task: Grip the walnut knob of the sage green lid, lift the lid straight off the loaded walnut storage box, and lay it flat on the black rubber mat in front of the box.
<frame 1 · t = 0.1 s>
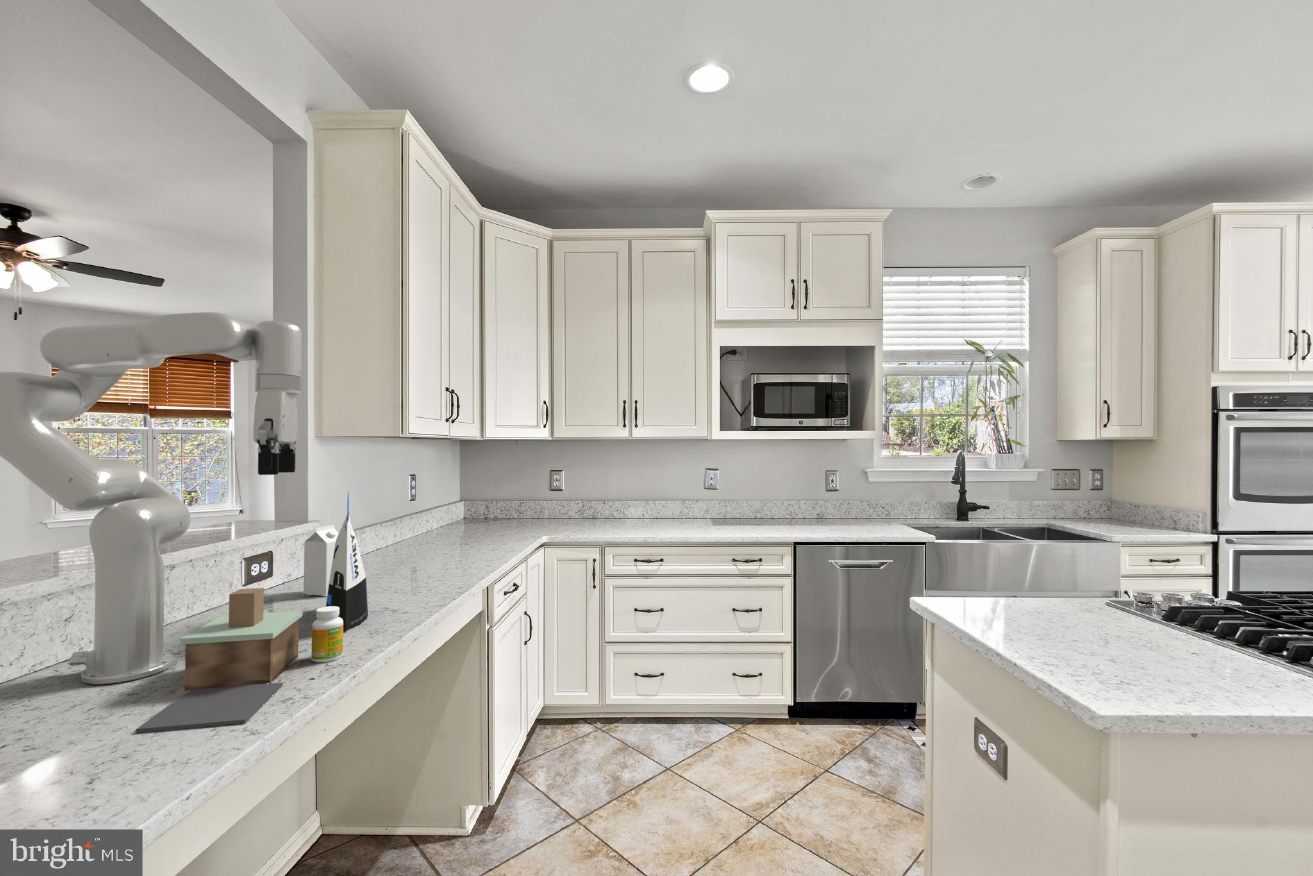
hand: (277, 473, 113), 37 cm above the worktop, tool pointing down, fingers open, 9 cm apart
storage box: (245, 672, 107), on the worktop
supplement bottle: (327, 659, 114), on the worktop
rubber mat: (216, 707, 93), on the worktop
milk carton: (323, 594, 164), on the worktop
lid: (246, 629, 107), point 8 cm above the worktop, touching storage box
protein powder: (346, 619, 141), on the worktop
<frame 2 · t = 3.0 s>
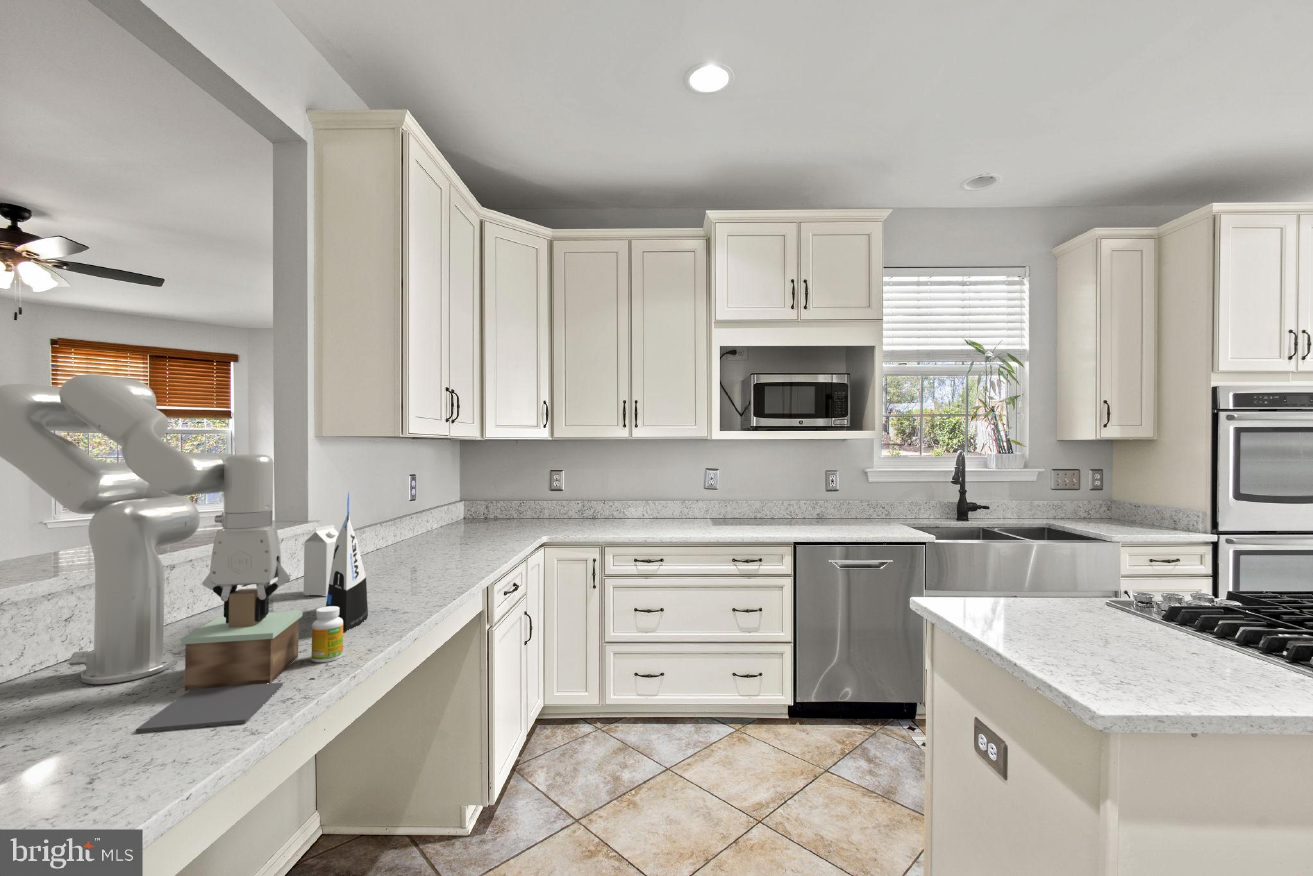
hand: (246, 619, 107), 10 cm above the worktop, tool pointing down, fingers closed on lid, 4 cm apart
lid: (246, 629, 107), point 8 cm above the worktop, touching gripper, storage box
everything else where it was.
when the fingers open (4 cm above the worktop, at t = 8.4 s): lid drops 2 cm, resting on rubber mat.
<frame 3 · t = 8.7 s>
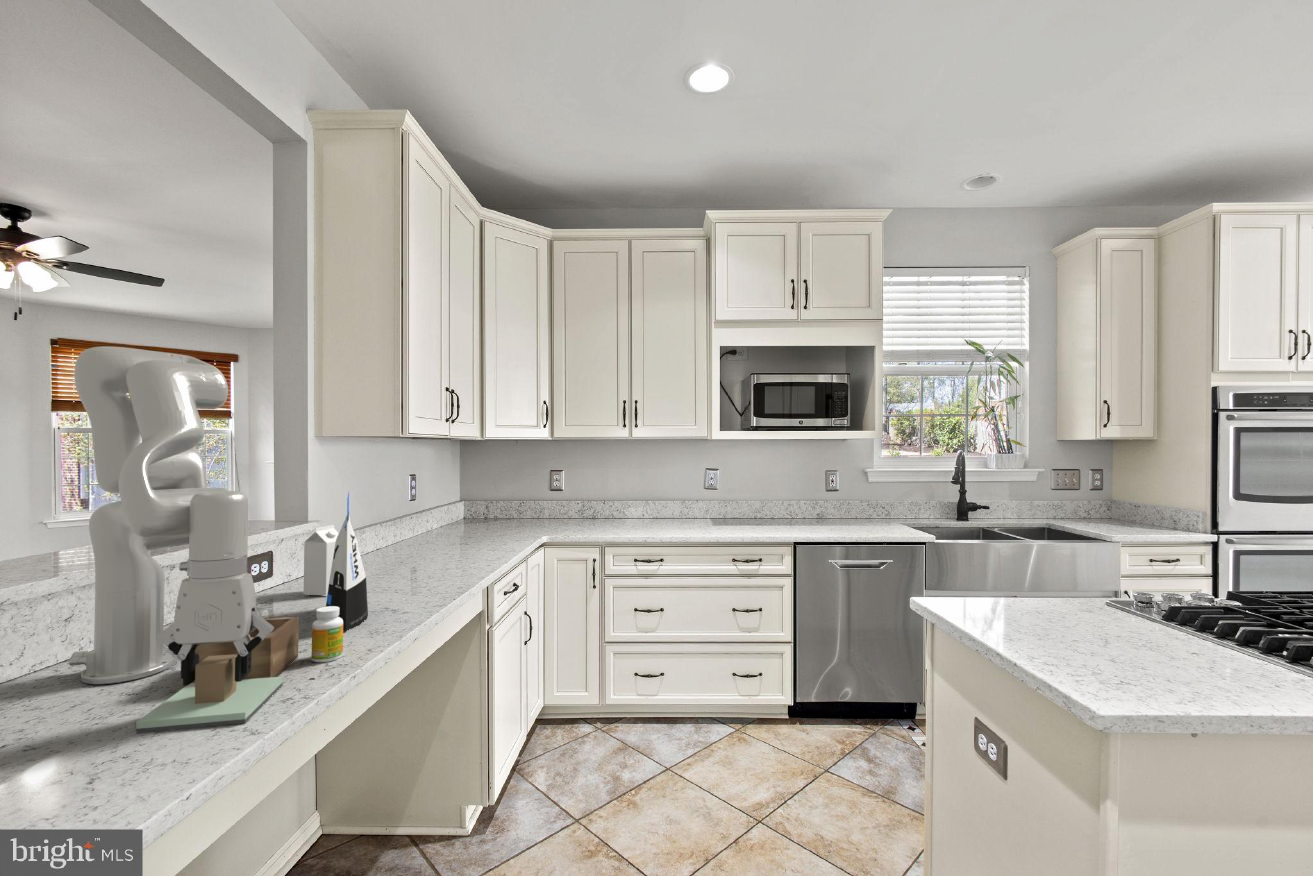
hand: (216, 679, 93), 4 cm above the worktop, tool pointing down, fingers open, 6 cm apart
lid: (215, 703, 93), point 1 cm above the worktop, touching rubber mat
everything else where it was.
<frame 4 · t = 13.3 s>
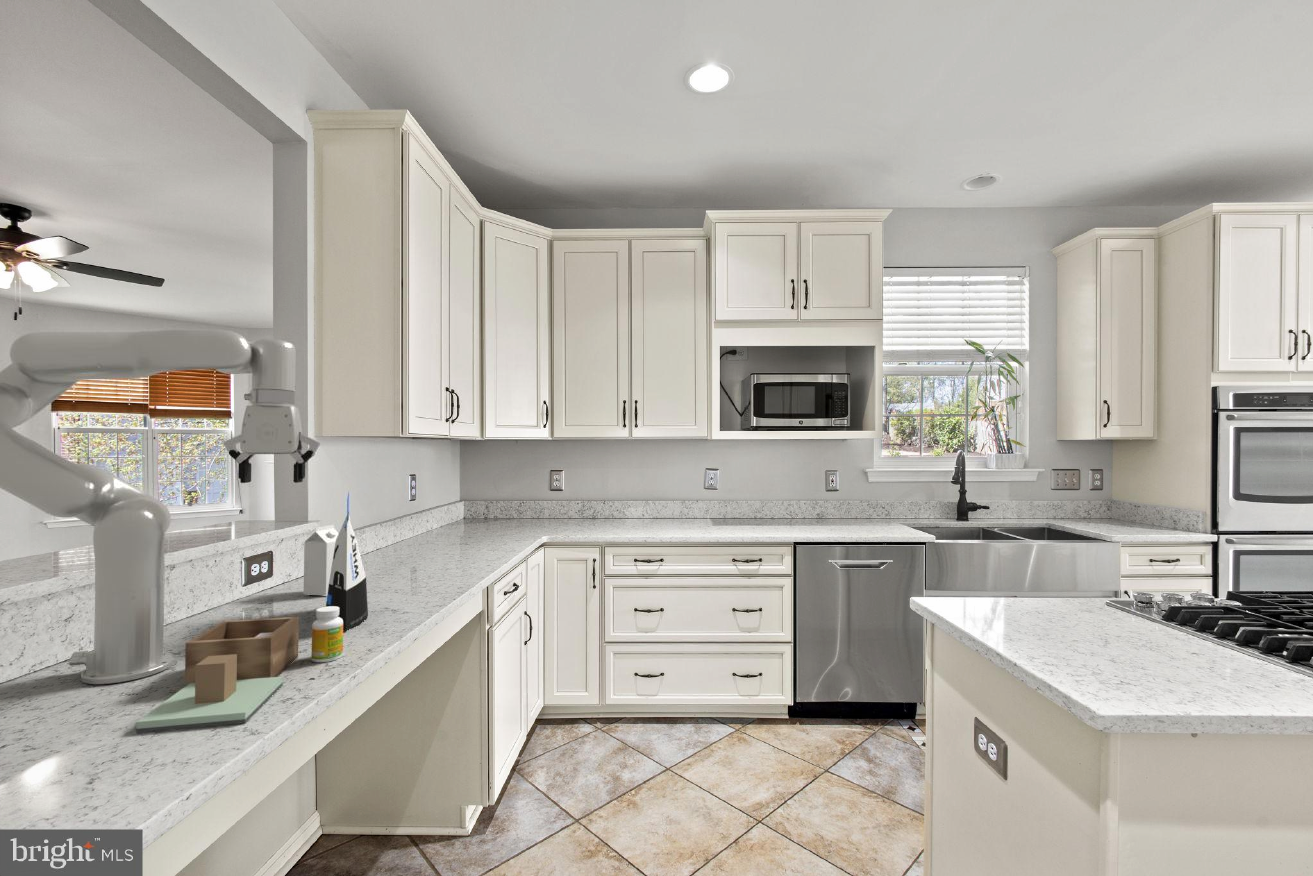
hand: (272, 482, 120), 34 cm above the worktop, tool pointing down, fingers open, 9 cm apart
nothing on the worktop moved.
at the end: lid inside the target area on the rubber mat (0.1 cm from its centre), point 0.6 cm above the rubber mat's base; lid tilted 0°; the gripper is holding nothing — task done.
